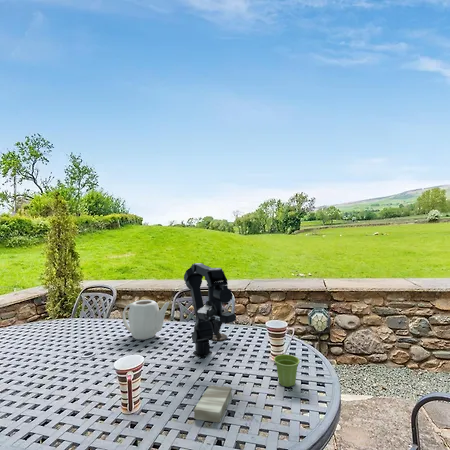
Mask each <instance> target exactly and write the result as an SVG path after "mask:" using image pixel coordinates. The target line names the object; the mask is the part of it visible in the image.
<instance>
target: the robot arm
mask: <svg viewBox="0 0 450 450" xmlns="http://www.w3.org/2000/svg"><path fill="white" fill-rule="evenodd" d="M224 271H225V270H223V268H222V267H211V266H208V265H206V264H204V263H203V262H198V263H197V262H196V263H192V264H191V266H190V267H189V268H188V269H186V270H185V273H184V274H183V279H184V282H185V286H186V287H187V288H188V290H189V291H190V294H191V300H192V305H193V310H194V315H195V320H196V321H195V323H194V325H193V329H194V330H193V332H192V334H191V341H192V342H194V344H195V349H194V350H195V351H193V352H192V355H196V356H198V357H200V358H203V357H206V356H207V355H208V356H209V355H211V354H212V353H213V352H212V351H211V346H210V341H212V339H213V334H214V335H217V334H218V332H219V330H220V331H221V329H220V328H221V327H222V325H223V324H230V323H233V322H235V321H237V315H236V314H235V313H233V312H229V311H228V313H225V314H222V313H223V312H224V310H223V309H222V308H223V303H224V304H228V303H229V302H230V301H231V300H232V298H233V292H232V290H231V289H230V288H228V287H229V286H228V279H227V276H226V274H225V272H224ZM203 278H204V280H205V281H206V287H207V298H208V299H207V300H206V301H205V304H204V300H203V296H202V290H201V286H202V284H203Z"/></svg>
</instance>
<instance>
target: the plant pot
mask: <svg viewBox="0 0 450 450" xmlns="http://www.w3.org/2000/svg"><path fill="white" fill-rule="evenodd" d="M273 361H274V363H275V366H276V372H277V379H278V380H277V381H278V383H279V384H280V385H281V386H282V387H287V388H289V387H291V386H293V387H294V386H295V385H296V381H297V371H298V367H299V364H300V362H301V361H300V359H299V358H298V357H297V356H295V355H292V354H285V353H284V354H279V355H276V356H275V357H274V358H273Z"/></svg>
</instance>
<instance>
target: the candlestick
mask: <svg viewBox="0 0 450 450" xmlns="http://www.w3.org/2000/svg"><path fill="white" fill-rule="evenodd" d="M222 309H223V310H224V312H223V313H222V314H225V313H228V312H229V309H227V308H223V307H222ZM220 331H221V327H220V330H219V332H218V334H217V335H214V333H213V339H212V340H211V341H212V342H224V341H226V340H227V339H228V335H227V334H224V333H221V332H220Z"/></svg>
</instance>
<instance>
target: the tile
mask: <svg viewBox="0 0 450 450" xmlns="http://www.w3.org/2000/svg"><path fill="white" fill-rule="evenodd" d="M232 392H233V390H232V387H230V386H223V385H212V384H209V385H208V387H206V390H205V392H204V393H203V394H202V396H201V397H200V399H199V401H198V403H197V404H196V406H195V407H194V409H193V413H194V414H193V419H194V420H198V421H205V422H212V423H220V422H221V420H222V418H223V416H224V414H225V412H226V410H227V408H228V405H229V404H230V400H231V399H232V396H233V395H232V394H233V393H232Z"/></svg>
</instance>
